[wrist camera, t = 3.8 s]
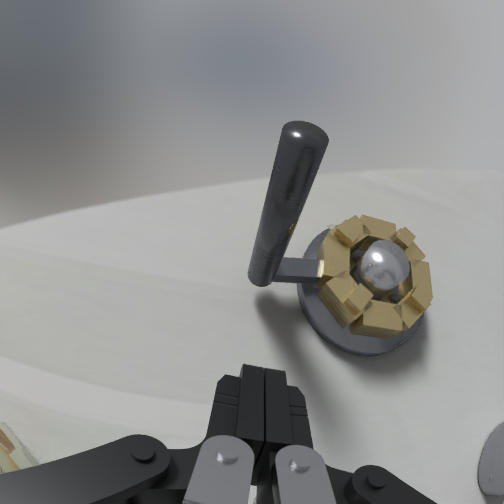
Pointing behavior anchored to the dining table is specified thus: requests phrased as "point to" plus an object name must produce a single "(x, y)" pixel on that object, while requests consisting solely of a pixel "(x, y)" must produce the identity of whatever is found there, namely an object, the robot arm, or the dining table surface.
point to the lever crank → (332, 245)
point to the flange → (375, 280)
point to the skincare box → (13, 452)
